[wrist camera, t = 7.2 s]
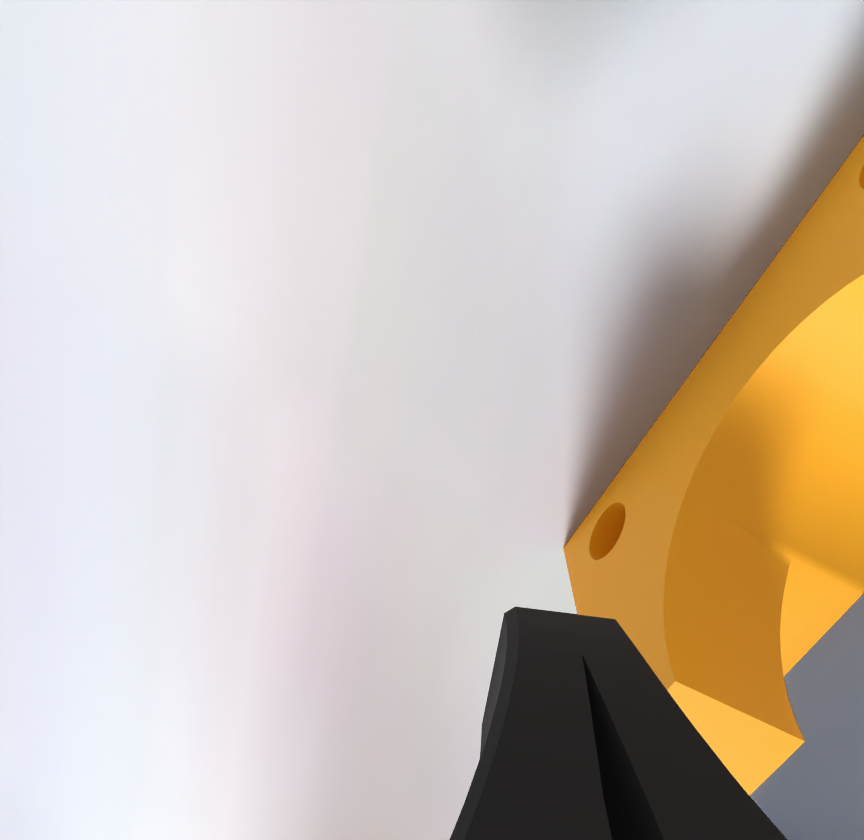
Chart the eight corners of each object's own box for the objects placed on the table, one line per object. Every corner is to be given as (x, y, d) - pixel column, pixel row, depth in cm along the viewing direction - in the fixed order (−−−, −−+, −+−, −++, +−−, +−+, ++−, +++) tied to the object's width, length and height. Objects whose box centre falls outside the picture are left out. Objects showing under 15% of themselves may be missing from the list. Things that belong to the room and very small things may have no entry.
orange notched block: (707, 614, 20) (812, 847, 14) (562, 544, 19) (608, 757, 13) (1079, 185, 15) (1473, 257, 9) (906, 71, 14) (1214, 70, 8)
